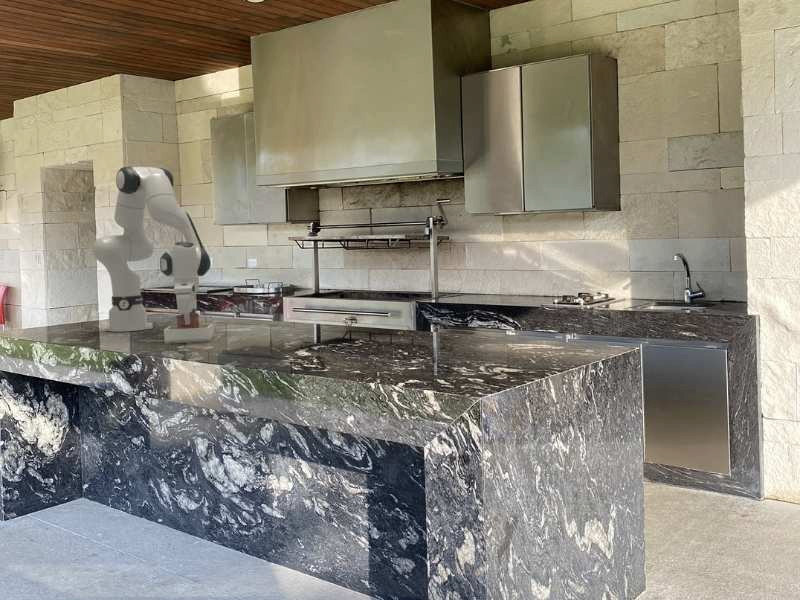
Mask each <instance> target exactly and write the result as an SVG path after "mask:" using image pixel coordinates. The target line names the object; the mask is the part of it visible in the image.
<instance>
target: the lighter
mask: <svg viewBox="0 0 800 600" xmlns="http://www.w3.org/2000/svg"><path fill="white" fill-rule="evenodd" d="M177 313H178V314H179V312H178V311H177ZM192 313H193V314H192ZM199 316H200V315H199V313H196V309H195V308H193V311H192V312H190V324H189V325H185V319H184V314H179V315H176V322H177V323H176V324H177V325H178V329H187V328H199V324H200V320H199ZM177 325H176V326H177Z"/></svg>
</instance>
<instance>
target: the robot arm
mask: <svg viewBox="0 0 800 600" xmlns="http://www.w3.org/2000/svg"><path fill="white" fill-rule="evenodd" d="M115 176H116V177H115V184H116V187H117V188H118V192H117V197H116V205H115V211H114V217H113V218H114V221H115V223H116V224H117V225H118V226H119V227H121V228H123V234H117V235H116V234H115V235H104V236H101V237H98V238H97V239H95V240H94V242H93V244H92V254H93V256H94V258H95V259H96V260H97V262H99V263H101V264H102V265H103V267H104V268H105V269H106V270H107V272H108V275H109V278H110V281H111V282H110V283H111V291H112V292H111V293H112V296H111V305H112V307H111V308H110V309H109V310H108V327H106V328H104V329H105V330H104V331H105V332H107V331H108V332H119V333H121V332H122V333H123V332H135V331H143V330H152V329H153V328H154V327H153V326H154V325H153V322H149V317H147V316H148V315H147V309H146V308H145V306H144V305H143V295H142V294H141V293H142V292H141V278H140V276H139V275H138V273H136V272H135V271H133V270H131V269H130V267H129V265H128V262H140V261H143V260H147V259H150V258H151V257H152V255H153V253H154V250H155V249H154V242H153V240H152V239H151V237H149V236H148V235H147V233H146V232H145V228H144V218H145V209H147V211H148V214H149V216H150V217H151V218H152V219H153V220H154V221H155V222H157V223H158V224H161V225H164V226H168V227H170V228H173V229H176V230H178V232H180V233H181V234H182V236H184V237H183V238H184V239H185V240H184V241H178V242H175V243H173V245H172V248H171V249H170V250H168V251H166V252H164V253H163V254H162V255H161V257H160V259H159V269H160V271H161V272H162V274H163V275H165V276H166V277H170V278H171V277H173V293H174V294H175V298H176V300H175V301H176V306H177V313H178V312H179V313H178V314H179V315H182V314H184V319H185V325H189V324H190V312H192V311H193V308H195V310H196V309H197V306H198V304H197V292H199V291H200V280H199V279H200V278H199V277H203V276H205V275H206V274H207V273H208V272H209V270H210V268H211V258H210V256H209V254H208V252H207V250H206V248H205V247H204V245H203V243H202V241H201V238H200V236H199V234H198V231H197V229H196V227H195V224H194V222H193V220H192V218H191V216H190V213H188V212H187V211H185V210H184V209H183V208H182V207H181V206H180V204H179V202H178V201H177V198H176V194H175V192H174V191H175V190H174V188H173V187H174V177H173V174H172V172H171V171H170V170H168V169H165V168H162V167H160V168H159V167H153V166H152V167H151V166H123V167H121V168H119V169H118V171H117V173H116V175H115ZM146 207H147V208H146ZM192 314H193V313H192Z"/></svg>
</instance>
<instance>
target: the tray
mask: <svg viewBox="0 0 800 600" xmlns="http://www.w3.org/2000/svg"><path fill="white" fill-rule="evenodd" d="M214 330H215V329H214V323H204V324H202V323H201V324H200V323H199V328H187V329H178V325H168V326H167V327H166V328H164V329H163V334H164V335H163V336H164V337H163V339H164V340H163V341H164V345H165V344H167V345H168V344H184V343H185V344H186V343H187V344H188V343H189V344H190V343H206V342H207V343H209V342H211V341H212V340H213V339H214V338H215V331H214Z"/></svg>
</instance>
